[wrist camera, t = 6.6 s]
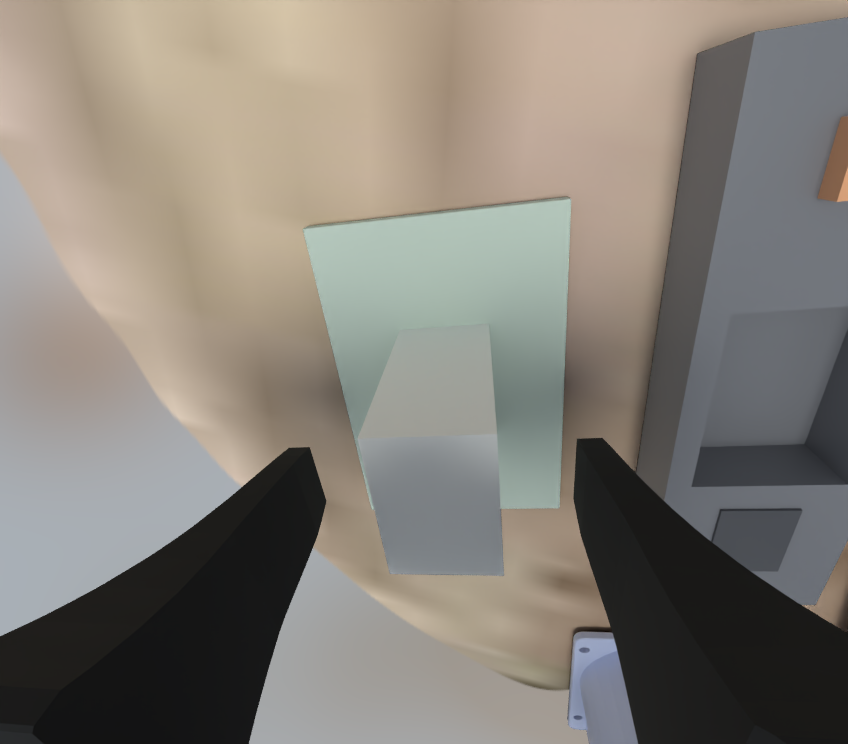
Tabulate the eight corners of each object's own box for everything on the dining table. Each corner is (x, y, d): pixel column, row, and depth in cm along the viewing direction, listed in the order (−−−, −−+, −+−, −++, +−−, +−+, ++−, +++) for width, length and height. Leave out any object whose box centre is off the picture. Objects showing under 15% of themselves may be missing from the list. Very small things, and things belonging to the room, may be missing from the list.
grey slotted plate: (774, 548, 18) (827, 621, 15) (625, 548, 19) (650, 615, 16) (983, 9, 10) (1179, -41, 7) (697, 53, 11) (774, 24, 8)
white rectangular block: (494, 433, 16) (503, 575, 11) (416, 436, 17) (389, 573, 11) (488, 323, 14) (497, 433, 9) (399, 329, 15) (357, 438, 9)
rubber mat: (557, 499, 18) (559, 508, 18) (374, 501, 19) (371, 509, 19) (567, 196, 12) (571, 198, 12) (308, 225, 14) (302, 229, 13)
